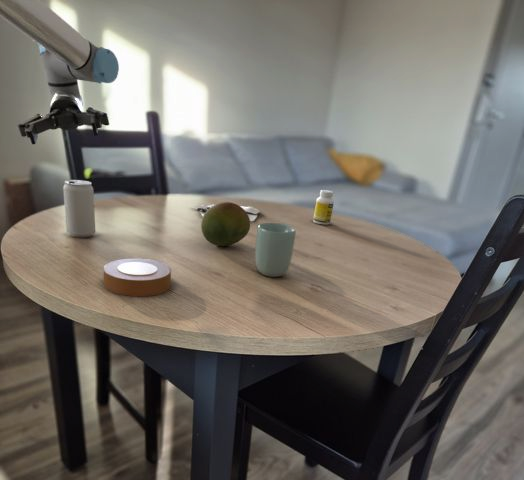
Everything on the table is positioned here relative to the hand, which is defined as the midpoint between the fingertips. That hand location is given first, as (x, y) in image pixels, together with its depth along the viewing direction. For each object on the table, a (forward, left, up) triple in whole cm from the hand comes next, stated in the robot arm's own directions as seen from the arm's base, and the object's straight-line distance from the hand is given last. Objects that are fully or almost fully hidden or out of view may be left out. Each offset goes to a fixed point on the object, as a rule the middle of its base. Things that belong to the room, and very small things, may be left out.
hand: (63, 133), depth 107 cm
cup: (+50, -14, -21) cm, 57 cm away
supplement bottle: (+62, +42, -21) cm, 78 cm away
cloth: (+32, +38, -21) cm, 54 cm away
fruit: (+37, +3, -21) cm, 43 cm away
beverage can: (+4, -4, -21) cm, 22 cm away
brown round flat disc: (+26, -30, -21) cm, 45 cm away
